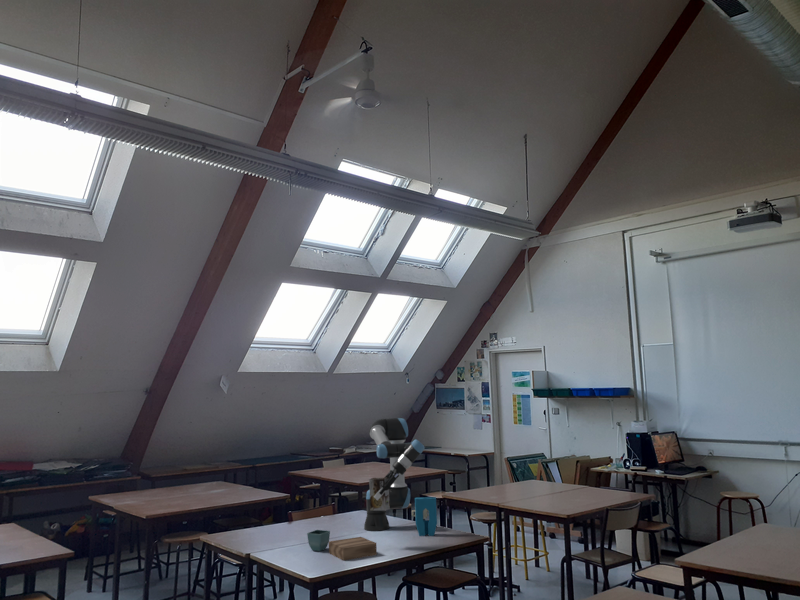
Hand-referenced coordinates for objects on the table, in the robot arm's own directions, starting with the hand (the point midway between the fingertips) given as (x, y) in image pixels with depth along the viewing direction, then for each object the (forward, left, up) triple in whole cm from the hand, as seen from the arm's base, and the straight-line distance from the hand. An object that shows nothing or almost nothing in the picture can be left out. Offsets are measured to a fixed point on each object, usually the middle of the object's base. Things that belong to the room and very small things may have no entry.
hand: (373, 497), depth 313 cm
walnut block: (+5, -16, -25) cm, 30 cm away
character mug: (-20, +42, -25) cm, 53 cm away
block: (-7, +37, -25) cm, 46 cm away
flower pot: (-14, -26, -25) cm, 39 cm away
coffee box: (+1, +3, -7) cm, 7 cm away
